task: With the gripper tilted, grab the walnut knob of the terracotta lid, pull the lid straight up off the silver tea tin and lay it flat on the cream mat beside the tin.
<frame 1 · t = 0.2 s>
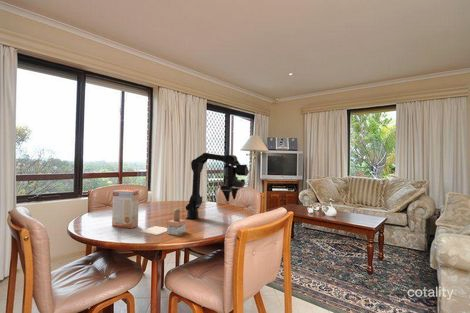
hand: (231, 200, 155), 15 cm above the table, tool pointing down, fingers open, 9 cm apart
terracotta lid: (176, 224, 135), point 4 cm above the table, touching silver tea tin
cream mat: (156, 230, 138), on the table
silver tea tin: (176, 232, 135), on the table
cracker box: (125, 226, 145), on the table
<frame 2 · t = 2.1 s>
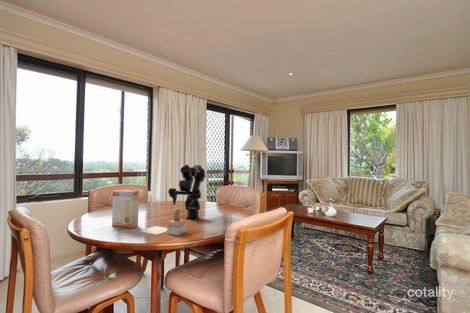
hand: (181, 205, 142), 13 cm above the table, tool tilted 45°, fingers open, 9 cm apart
nothing on the table moved.
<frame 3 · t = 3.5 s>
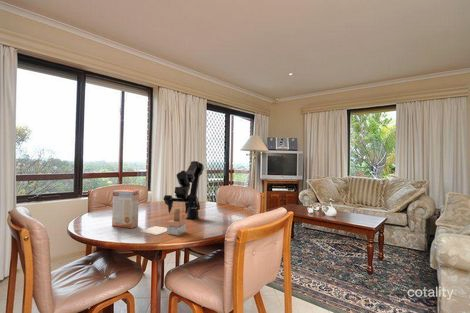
hand: (177, 213, 135), 10 cm above the table, tool tilted 45°, fingers open, 9 cm apart
nothing on the table moved.
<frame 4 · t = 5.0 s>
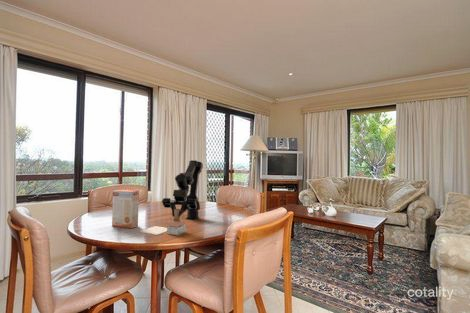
hand: (175, 216, 133), 9 cm above the table, tool tilted 45°, fingers closed on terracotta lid, 3 cm apart
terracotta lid: (176, 224, 135), point 4 cm above the table, touching gripper, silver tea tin
everything else where it was.
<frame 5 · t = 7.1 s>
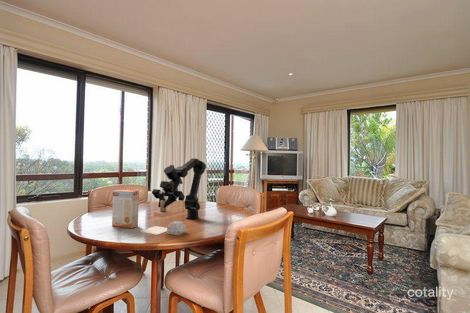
hand: (161, 207, 135), 13 cm above the table, tool tilted 45°, fingers closed on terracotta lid, 3 cm apart
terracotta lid: (162, 215, 136), point 9 cm above the table, touching gripper
everything else where it was.
when the fingers open (7 cm above the table, at t = 9.5 s): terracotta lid drops 1 cm, resting on cream mat.
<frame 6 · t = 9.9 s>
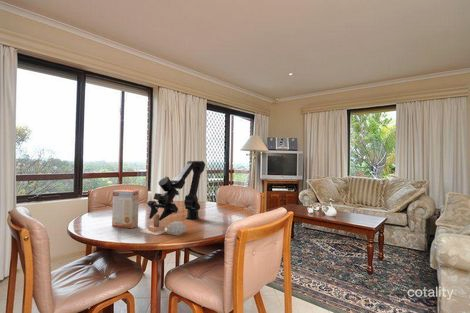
hand: (154, 219, 136), 7 cm above the table, tool tilted 45°, fingers open, 7 cm apart
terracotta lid: (156, 230, 138), resting on cream mat
everything else where it was.
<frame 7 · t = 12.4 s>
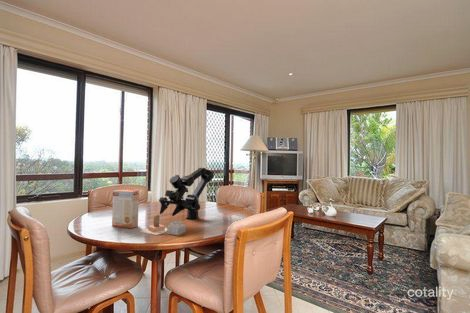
hand: (166, 214, 145), 7 cm above the table, tool tilted 45°, fingers open, 9 cm apart
nothing on the table moved.
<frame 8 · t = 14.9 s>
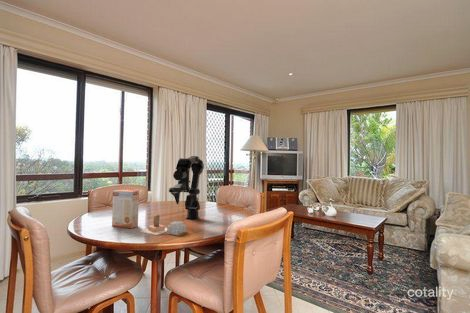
hand: (183, 204, 151), 12 cm above the table, tool pointing down, fingers open, 9 cm apart
nothing on the table moved.
at the end: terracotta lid inside the target area on the cream mat (0.0 cm from its centre), point 0.4 cm above the cream mat's base; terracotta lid tilted 0°; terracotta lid touching cream mat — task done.
